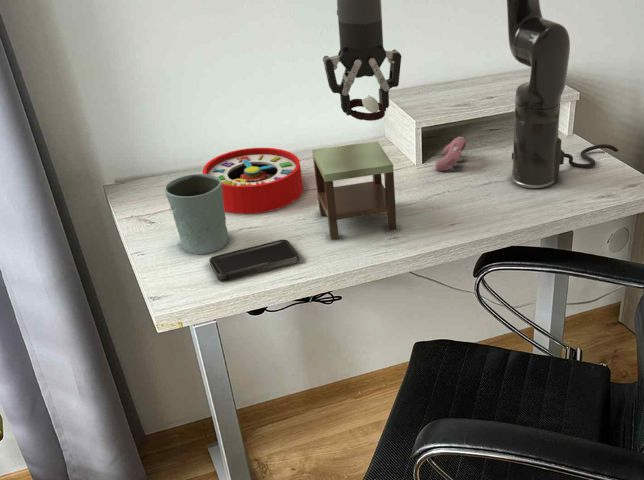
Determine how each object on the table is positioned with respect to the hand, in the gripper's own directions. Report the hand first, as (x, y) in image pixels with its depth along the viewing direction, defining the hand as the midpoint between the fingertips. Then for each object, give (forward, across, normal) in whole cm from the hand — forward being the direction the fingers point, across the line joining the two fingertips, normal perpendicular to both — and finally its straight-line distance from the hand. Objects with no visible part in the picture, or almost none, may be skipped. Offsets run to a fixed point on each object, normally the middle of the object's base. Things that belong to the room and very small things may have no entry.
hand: (365, 111), depth 149 cm
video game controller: (+22, +24, +21) cm, 38 cm away
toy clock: (+22, -20, +21) cm, 37 cm away
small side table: (+22, -3, +1) cm, 22 cm away
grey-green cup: (+23, -32, +2) cm, 40 cm away
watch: (+1, 0, 0) cm, 1 cm away
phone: (+23, -24, -9) cm, 34 cm away
